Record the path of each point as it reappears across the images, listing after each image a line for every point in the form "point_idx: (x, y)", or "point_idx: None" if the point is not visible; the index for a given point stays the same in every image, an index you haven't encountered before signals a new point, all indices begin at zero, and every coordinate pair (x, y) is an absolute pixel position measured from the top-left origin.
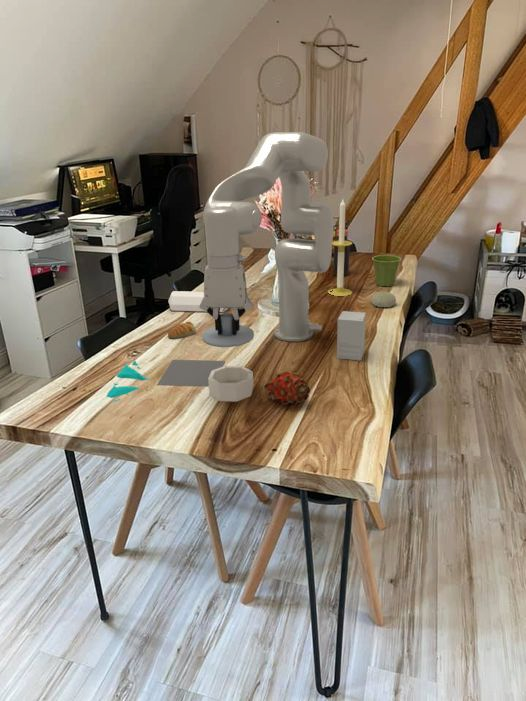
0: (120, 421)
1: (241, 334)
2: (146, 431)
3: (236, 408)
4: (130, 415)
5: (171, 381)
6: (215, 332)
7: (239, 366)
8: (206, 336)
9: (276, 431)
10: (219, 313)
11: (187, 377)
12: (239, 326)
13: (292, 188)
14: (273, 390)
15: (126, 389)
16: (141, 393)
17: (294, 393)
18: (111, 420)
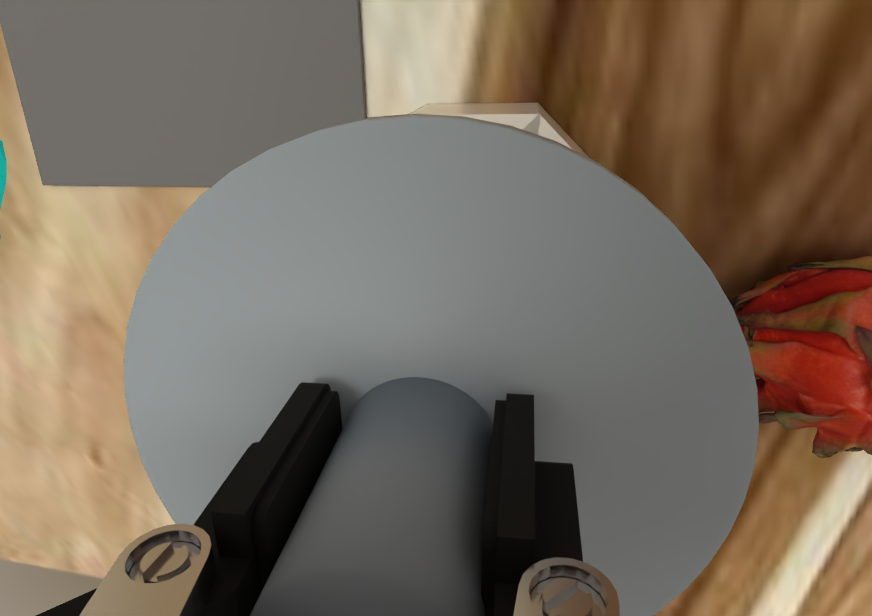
0: (74, 483)
1: (593, 468)
2: None
3: None
4: (85, 445)
5: (99, 138)
6: (263, 406)
7: (516, 124)
8: (205, 501)
9: (732, 562)
10: (205, 597)
11: (167, 76)
12: (573, 489)
13: None
14: (766, 421)
15: None
16: (18, 264)
17: None
18: (37, 476)
